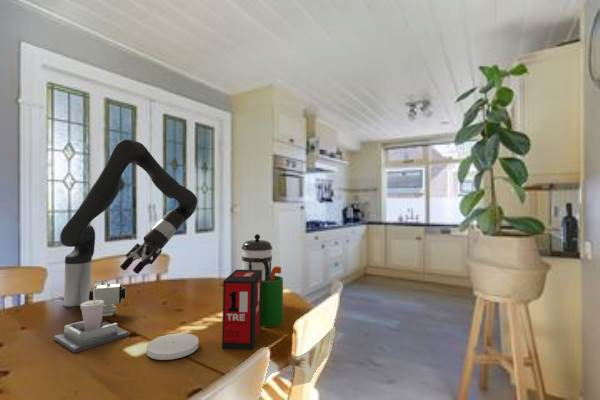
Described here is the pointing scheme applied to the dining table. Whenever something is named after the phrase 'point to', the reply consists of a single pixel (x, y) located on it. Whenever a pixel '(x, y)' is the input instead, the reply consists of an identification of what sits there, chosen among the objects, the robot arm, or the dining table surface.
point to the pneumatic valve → (109, 297)
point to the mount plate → (88, 336)
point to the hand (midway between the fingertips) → (128, 270)
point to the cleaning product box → (242, 309)
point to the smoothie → (92, 313)
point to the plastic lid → (172, 346)
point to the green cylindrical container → (272, 299)
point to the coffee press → (257, 256)
